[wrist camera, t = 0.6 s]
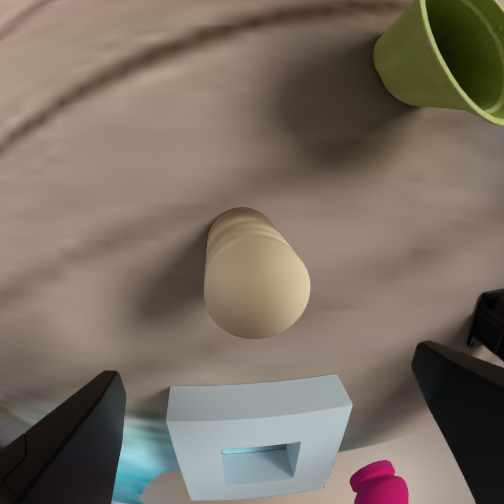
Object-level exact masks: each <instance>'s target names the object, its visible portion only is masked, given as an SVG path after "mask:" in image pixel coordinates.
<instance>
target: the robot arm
mask: <svg viewBox="0 0 504 504" xmlns="http://www.w3.org/2000/svg"><path fill="white" fill-rule="evenodd" d="M480 345H484V346H485V347H486V348H487V349H488V350H489V351H491V352H492V353H493V354H494V355H496V356H497V357H499V358H500V359H501V360H502V361H503V362H504V289H500V290H495V291H490V292H485V293H484V294H483V295H482V298H481V302H480V305H479V309H478V312H477V315H476V319H475V322H474V325H473V328H472V331H471V334H470V337H469V340H468V343H467V347H468V348H474V347H477V346H480ZM411 367H412V371H413V373H414V376H415V378H416V380H417V383H418V385H419V387H420V390H421V392H422V394H423V397H424V399H425V401H426V404H427V406H428V408H429V410H430V412H431V413H432V415H433V417H434V419H435V421H436V423H437V424H438V426H439V428H440V430H441V432H442V434H443V436H444V438H445V440H446V442H447V444H448V446H449V447H450V450H451V451H452V453H453V455H454V457H455V460H456V461H457V463H458V466H459V468H460V470H461V472H462V474H463V476H464V478H465V480H466V482H467V484H468V487H469V488H470V491H471V493H472V495H473V498H474V499H475V503H476V504H504V368H502V367H500V366H497V365H494V364H491V363H489V362H486V361H483V360H481V359H478V358H475V357H472V356H470V355H467V354H464V353H462V352H459V351H456V350H454V349H451V348H448V347H446V346H443V345H440V344H438V343H435V342H432V341H424V342H420V343H418V345H417V347H416V350H415V353H414V357H413V360H412V364H411ZM125 406H126V392H125V389H124V386H123V383H122V380H121V377H120V374H119V372H117V371H112V370H105V371H103V372H101V373H100V374H99V375H98V376H96V377H95V378H94V379H92V380H91V381H90V382H89V383H87V384H86V385H85V386H84V387H82V388H81V389H80V390H78V391H77V392H76V393H75V394H73V395H72V396H71V397H69V398H68V399H67V400H66V401H64V402H63V403H62V404H61V405H59V406H58V407H57V408H55V409H54V410H53V411H52V412H50V413H49V414H48V415H46V416H45V417H44V418H43V419H41V420H40V421H39V422H38V423H36V424H35V425H34V426H32V427H31V428H30V429H29V430H27V431H26V432H25V434H24V433H23V434H22V435H21V436H19V437H18V438H17V439H16V440H14V441H13V442H12V443H10V444H9V445H7V446H6V447H5V448H3V449H2V450H0V504H111V501H112V495H113V489H114V483H115V478H116V472H117V467H118V461H119V456H120V451H121V446H122V438H123V426H124V415H125Z"/></svg>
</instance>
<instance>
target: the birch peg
mask: <svg viewBox="0 0 504 504" xmlns="http://www.w3.org/2000/svg"><path fill="white" fill-rule="evenodd" d="M309 295H310V279H309V275H308V272H307V269H306V267H305V265H304V264H303V262H302V261H301V260H300V258H299V257H298V256H297V254H296V253H295V252H294V251H293V249H292V248H291V247H290V246H289V244H288V243H287V242H286V241H285V239H284V238H283V237H282V236H281V235H280V233H279V232H278V231H277V230H276V228H275V227H274V226H273V225H272V223H271V222H270V221H269V220H268V219H267V218H266V216H264V215H263V214H262V213H260V212H259V211H257V210H254V209H251V208H246V207H239V208H233V209H230V210H228V211H226V212H224V213H222V214H221V215H220V216H219V217H217V218H216V220H215V221H214V222H213V224H212V225H211V228H210V230H209V233H208V240H207V252H206V265H205V279H204V301H205V305H206V308H207V311H208V313H209V315H210V316H211V318H212V319H213V320H214V322H215V323H216V324H217V325H218V326H219V327H221V328H222V329H223V330H225V331H226V332H228V333H230V334H232V335H235V336H238V337H242V338H248V339H260V338H266V337H270V336H273V335H276V334H278V333H280V332H282V331H284V330H286V329H287V328H289V327H290V326H291V325H292V324H294V323H295V322H296V321H297V320H298V318H299V317H300V316H301V314H302V313H303V311H304V309H305V307H306V305H307V303H308V299H309Z"/></svg>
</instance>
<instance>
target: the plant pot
mask: <svg viewBox="0 0 504 504" xmlns="http://www.w3.org/2000/svg"><path fill="white" fill-rule="evenodd" d="M373 59H374V66H375V68H376V70H377V72H378V73H379V75H380V77H381V79H382V81H383V84H384V86H385V88H386V89H387V90H388V91H389V92H390V93H391V94H392V95H393V96H394V97H395V98H397V99H398V100H400V101H401V102H403V103H406V104H408V105H412V106H423V107H438V108H448V109H457V110H465V111H468V112H470V113H472V114H475V115H478V116H479V117H481V118H482V119H484V120H485V121H487V122H490V123H492V124H495V125H500V126H504V9H503V8H502V6H501V5H500V4H499V2H498V1H497V0H414V2H413V4H412V5H411V6H410V7H409V8H408V9H407V10H406V11H405V12H404V13H403V14H402V15H401V16H400V17H399V18H398V19H397V20H396V21H395V22H394V23H393V24H392V25H391V26H390V27H389V28H388V29H387V30H386V31H385V32H384V33H383V35H382V36H381V37H380V38H379V39H378V41H377V42H376V44H375V47H374V53H373Z"/></svg>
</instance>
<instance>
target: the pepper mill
mask: <svg viewBox="0 0 504 504" xmlns="http://www.w3.org/2000/svg"><path fill="white" fill-rule="evenodd" d="M394 473H395V470H394V468H393V466H392V464H391V462H390V461H387V460H383V461H377V462H374V463H372V464H369V465H367V466H365V467H363V468H361V469H360V470H358V471H357V472H356V473H355V474H354V475H353V476H352V477H351V478H350V485H351V487H352V490H353V491H354V492H356V493H357V495H356V498H355V501H354V504H408V488H407V485H406V483H405V481H404V479H402V478H401V477H398V476H394Z"/></svg>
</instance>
